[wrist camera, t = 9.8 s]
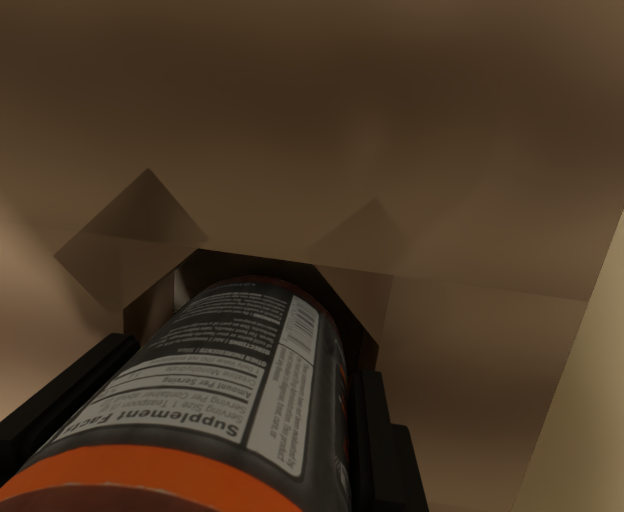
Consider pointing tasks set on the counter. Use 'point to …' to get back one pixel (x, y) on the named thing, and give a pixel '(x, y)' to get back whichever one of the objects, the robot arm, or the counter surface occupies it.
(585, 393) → the counter surface
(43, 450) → the supplement bottle
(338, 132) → the socket block
